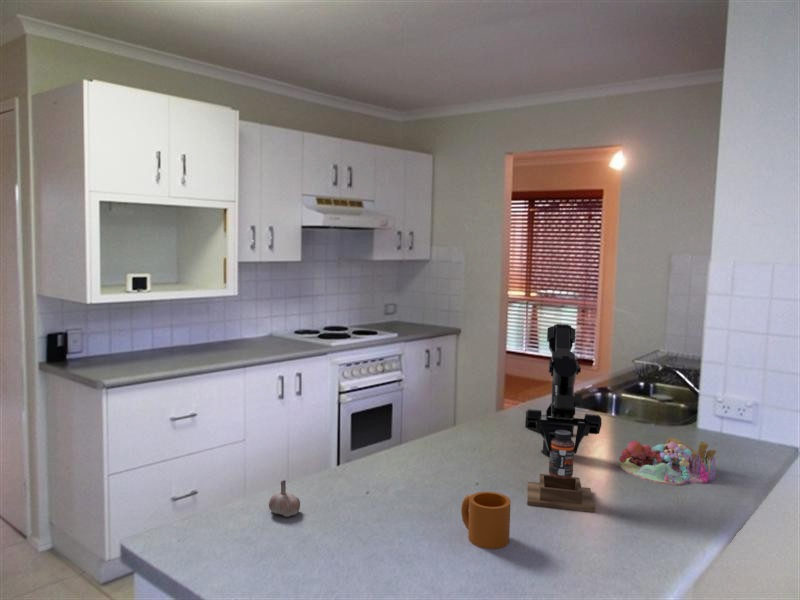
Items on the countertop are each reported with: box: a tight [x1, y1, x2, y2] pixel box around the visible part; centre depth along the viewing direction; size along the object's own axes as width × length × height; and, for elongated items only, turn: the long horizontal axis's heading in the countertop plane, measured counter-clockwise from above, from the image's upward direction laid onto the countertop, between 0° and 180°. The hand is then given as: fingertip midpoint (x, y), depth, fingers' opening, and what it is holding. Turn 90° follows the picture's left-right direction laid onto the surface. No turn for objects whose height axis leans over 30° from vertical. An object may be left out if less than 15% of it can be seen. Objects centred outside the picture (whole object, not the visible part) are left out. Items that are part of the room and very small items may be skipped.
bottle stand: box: [526, 473, 596, 513], centre depth 163 cm, size 13×16×4 cm
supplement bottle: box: [548, 430, 575, 479], centre depth 162 cm, size 6×6×11 cm
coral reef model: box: [618, 436, 717, 486], centre depth 185 cm, size 25×24×9 cm
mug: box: [460, 491, 512, 550], centre depth 140 cm, size 9×12×9 cm
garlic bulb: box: [268, 479, 301, 518], centre depth 149 cm, size 8×7×8 cm
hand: (562, 451), depth 161 cm, fingers closed on supplement bottle, 6 cm apart
